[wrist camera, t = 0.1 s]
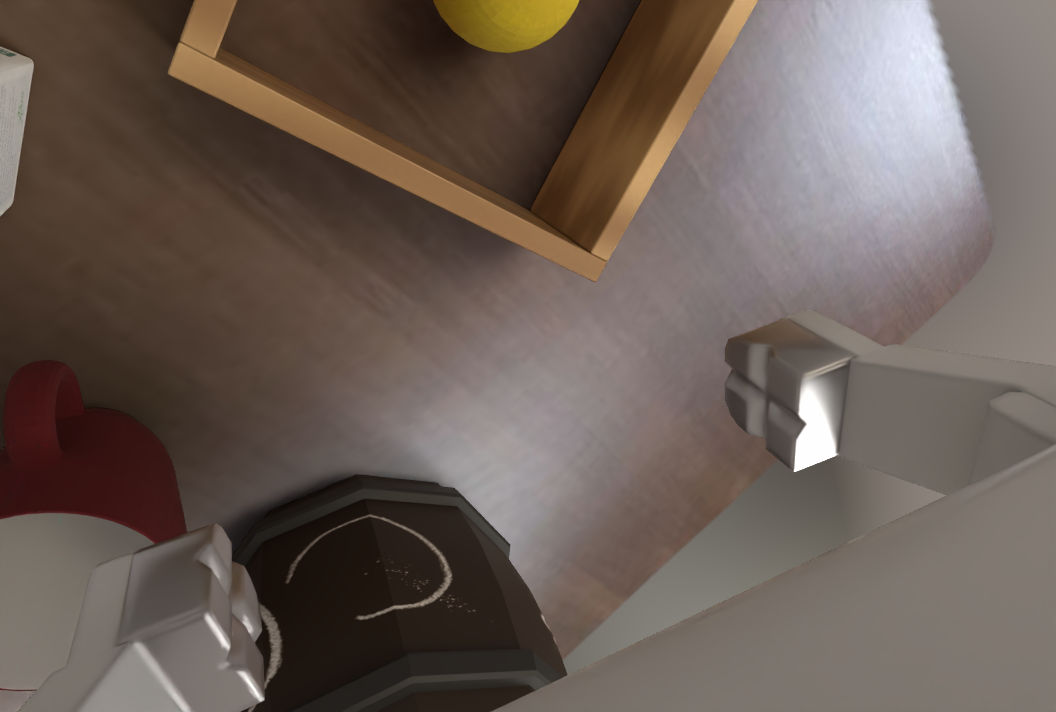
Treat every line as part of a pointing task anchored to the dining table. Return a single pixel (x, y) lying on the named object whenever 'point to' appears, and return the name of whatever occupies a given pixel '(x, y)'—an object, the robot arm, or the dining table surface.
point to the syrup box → (12, 118)
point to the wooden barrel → (392, 604)
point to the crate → (583, 164)
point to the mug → (68, 511)
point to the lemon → (506, 21)
